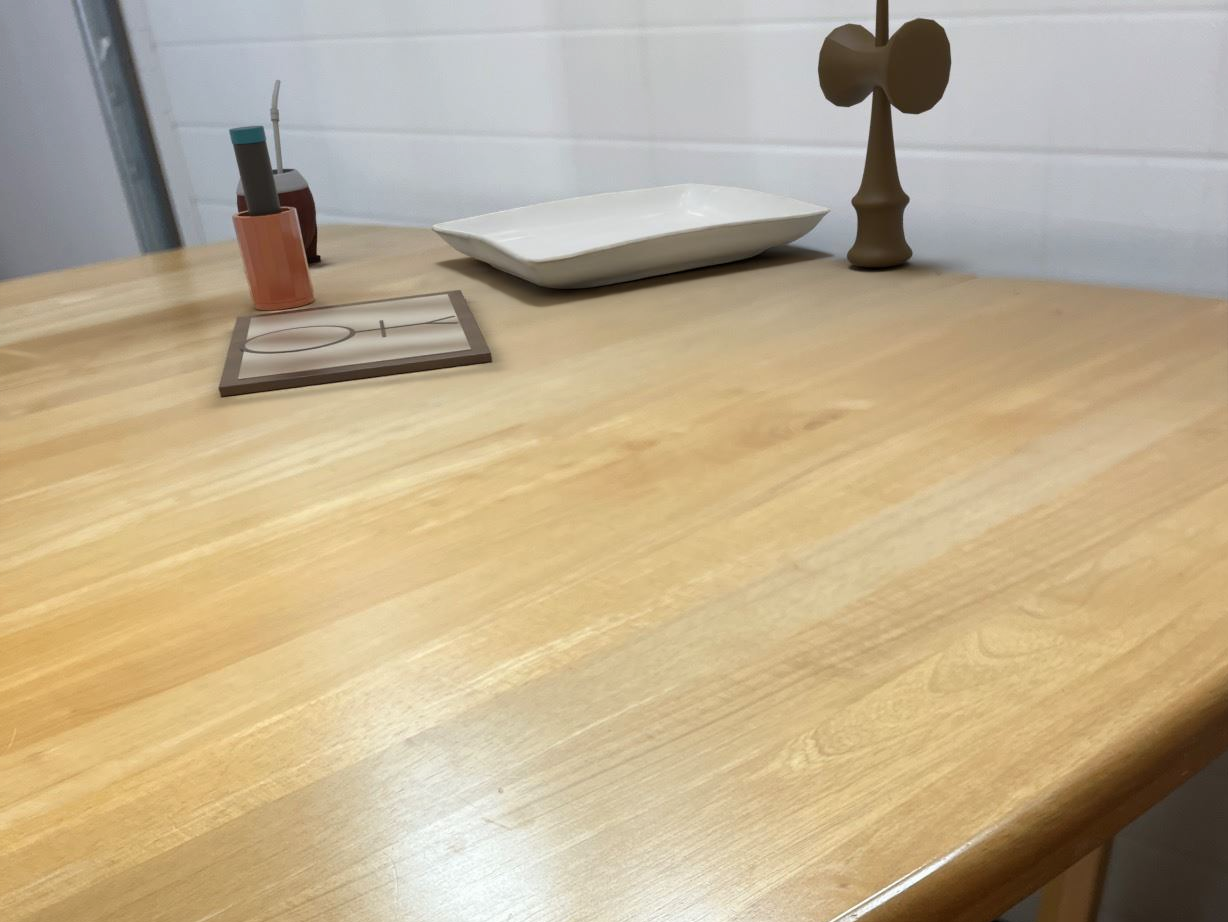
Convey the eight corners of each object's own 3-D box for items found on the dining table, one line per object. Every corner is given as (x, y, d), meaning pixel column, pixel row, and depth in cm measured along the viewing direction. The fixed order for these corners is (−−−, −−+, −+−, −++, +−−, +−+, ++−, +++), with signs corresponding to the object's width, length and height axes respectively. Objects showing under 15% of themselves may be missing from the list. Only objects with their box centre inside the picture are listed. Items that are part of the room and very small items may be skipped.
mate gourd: (263, 276, 126) (220, 90, 118) (242, 266, 132) (200, 88, 123) (339, 263, 129) (303, 81, 120) (315, 254, 135) (279, 79, 126)
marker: (280, 301, 112) (241, 130, 105) (261, 299, 114) (222, 129, 106) (306, 294, 114) (270, 125, 107) (287, 292, 115) (250, 125, 108)
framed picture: (492, 361, 91) (490, 350, 90) (220, 396, 88) (217, 385, 88) (461, 297, 110) (460, 288, 110) (238, 324, 108) (236, 315, 107)
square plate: (694, 220, 134) (691, 176, 131) (836, 255, 113) (836, 203, 111) (433, 262, 125) (426, 216, 123) (536, 307, 104) (529, 253, 102)
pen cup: (277, 312, 111) (256, 218, 107) (241, 307, 114) (219, 216, 110) (327, 299, 114) (308, 207, 110) (290, 295, 117) (270, 205, 113)
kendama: (887, 279, 103) (891, -37, 92) (813, 264, 110) (809, -31, 99) (947, 266, 106) (959, -44, 94) (872, 252, 113) (874, -38, 101)
